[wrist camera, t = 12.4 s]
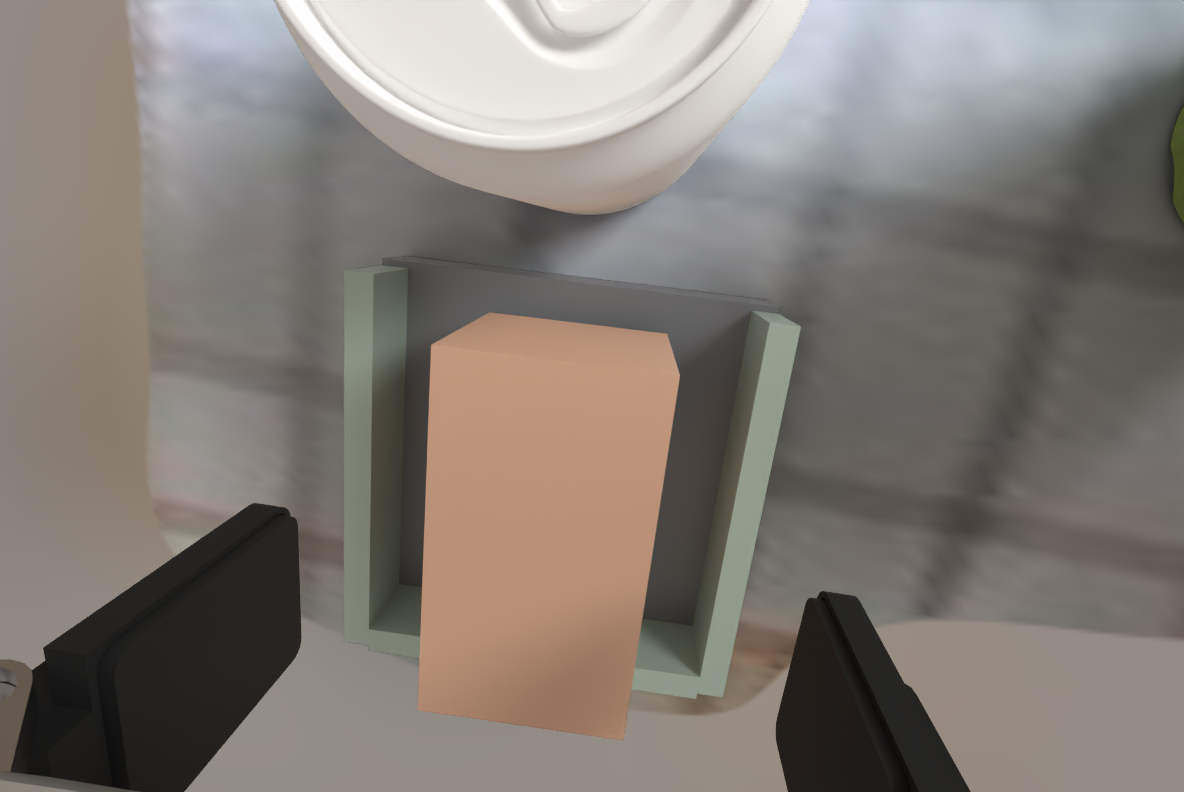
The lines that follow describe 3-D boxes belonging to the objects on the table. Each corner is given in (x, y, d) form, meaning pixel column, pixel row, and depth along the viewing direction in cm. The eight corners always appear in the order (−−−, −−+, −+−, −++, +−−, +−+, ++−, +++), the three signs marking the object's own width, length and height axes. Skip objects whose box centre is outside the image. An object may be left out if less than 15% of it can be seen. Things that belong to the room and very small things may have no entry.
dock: (765, 299, 20) (802, 318, 15) (705, 613, 23) (721, 702, 18) (407, 256, 20) (344, 262, 16) (398, 569, 23) (343, 647, 19)
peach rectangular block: (501, 305, 18) (431, 344, 12) (664, 325, 18) (680, 375, 12) (483, 565, 21) (417, 709, 14) (626, 584, 20) (623, 740, 14)
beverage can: (619, -149, 17) (584, -1011, 5) (778, 103, 18) (1032, -125, 6) (407, 50, 18) (21, -254, 7) (566, 266, 20) (470, 316, 8)
